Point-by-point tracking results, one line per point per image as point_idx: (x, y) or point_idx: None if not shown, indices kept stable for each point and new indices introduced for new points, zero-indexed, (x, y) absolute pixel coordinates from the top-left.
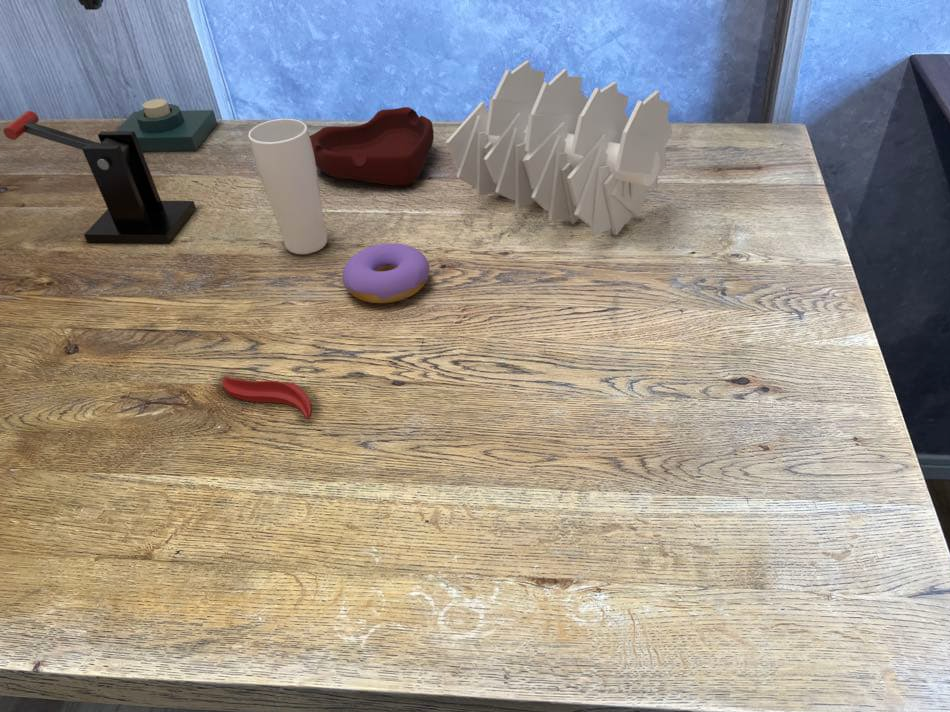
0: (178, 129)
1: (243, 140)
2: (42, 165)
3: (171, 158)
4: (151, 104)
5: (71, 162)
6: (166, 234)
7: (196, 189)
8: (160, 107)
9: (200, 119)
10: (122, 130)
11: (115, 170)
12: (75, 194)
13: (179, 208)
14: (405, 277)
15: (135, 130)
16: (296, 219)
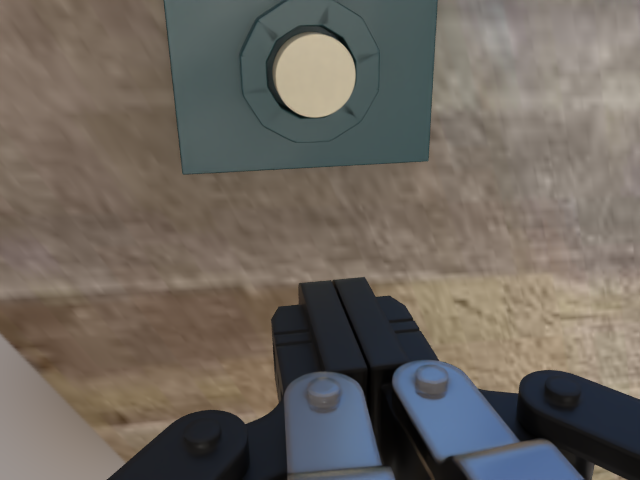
0: (374, 111)
1: (526, 85)
2: (24, 245)
3: (365, 195)
4: (308, 86)
5: (98, 226)
6: None
7: (472, 331)
8: (344, 103)
9: (419, 37)
10: (200, 120)
11: None
12: (212, 369)
13: None
14: None
15: (243, 120)
16: None
